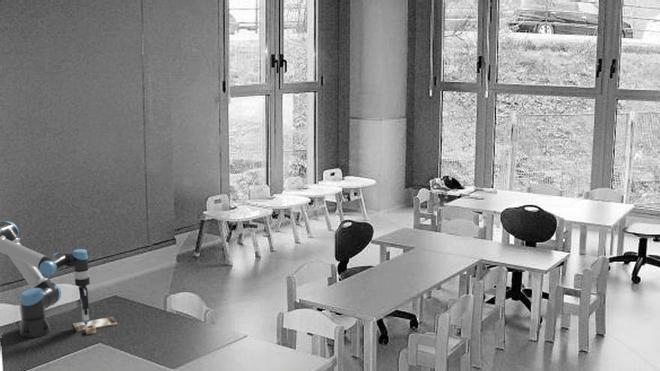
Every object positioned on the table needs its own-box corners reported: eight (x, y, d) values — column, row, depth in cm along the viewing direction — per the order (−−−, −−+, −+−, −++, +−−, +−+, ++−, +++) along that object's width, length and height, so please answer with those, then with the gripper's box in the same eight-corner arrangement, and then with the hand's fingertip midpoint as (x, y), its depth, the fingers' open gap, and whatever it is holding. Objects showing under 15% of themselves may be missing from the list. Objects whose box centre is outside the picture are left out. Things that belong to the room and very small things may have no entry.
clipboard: (77, 332, 435) (76, 329, 435) (72, 324, 448) (72, 321, 447) (118, 324, 445) (118, 322, 445) (112, 317, 457) (112, 315, 457)
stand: (86, 334, 431) (86, 329, 431) (85, 331, 436) (84, 326, 435) (96, 332, 433) (95, 327, 433) (94, 330, 438) (94, 324, 437)
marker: (83, 325, 441) (81, 300, 439) (82, 323, 445) (80, 298, 442) (90, 324, 443) (87, 299, 440) (88, 322, 446) (86, 297, 444)
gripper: (91, 280, 434) (95, 322, 438) (86, 273, 448) (89, 313, 452) (77, 282, 430) (81, 324, 434) (72, 275, 445) (76, 315, 449)
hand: (85, 318), depth 443 cm, fingers closed on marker, 3 cm apart
